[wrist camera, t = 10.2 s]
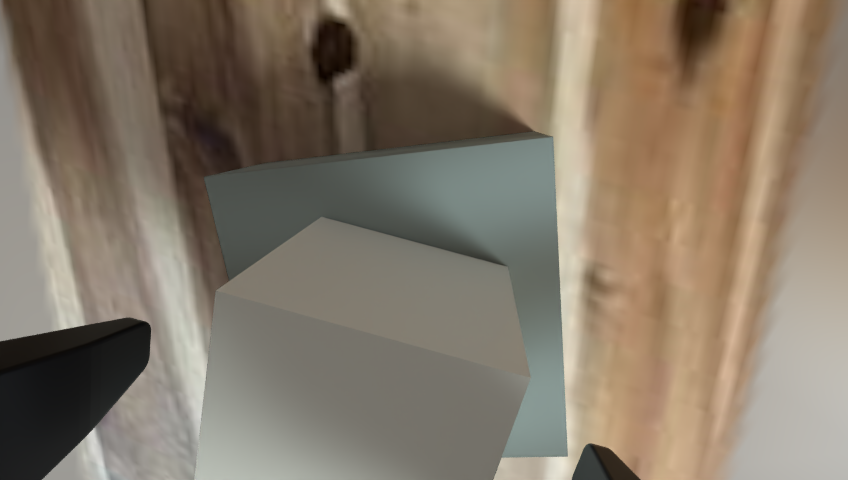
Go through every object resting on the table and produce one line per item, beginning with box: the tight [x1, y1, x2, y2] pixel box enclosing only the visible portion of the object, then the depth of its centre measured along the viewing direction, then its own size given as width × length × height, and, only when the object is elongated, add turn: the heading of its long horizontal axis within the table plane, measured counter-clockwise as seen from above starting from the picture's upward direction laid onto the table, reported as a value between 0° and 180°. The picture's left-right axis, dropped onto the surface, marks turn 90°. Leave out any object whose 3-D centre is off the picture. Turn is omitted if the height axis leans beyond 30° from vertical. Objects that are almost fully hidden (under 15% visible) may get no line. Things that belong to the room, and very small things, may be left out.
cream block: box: [194, 217, 531, 480], centre depth 10 cm, size 5×5×5 cm
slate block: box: [204, 131, 568, 457], centre depth 14 cm, size 9×9×4 cm
